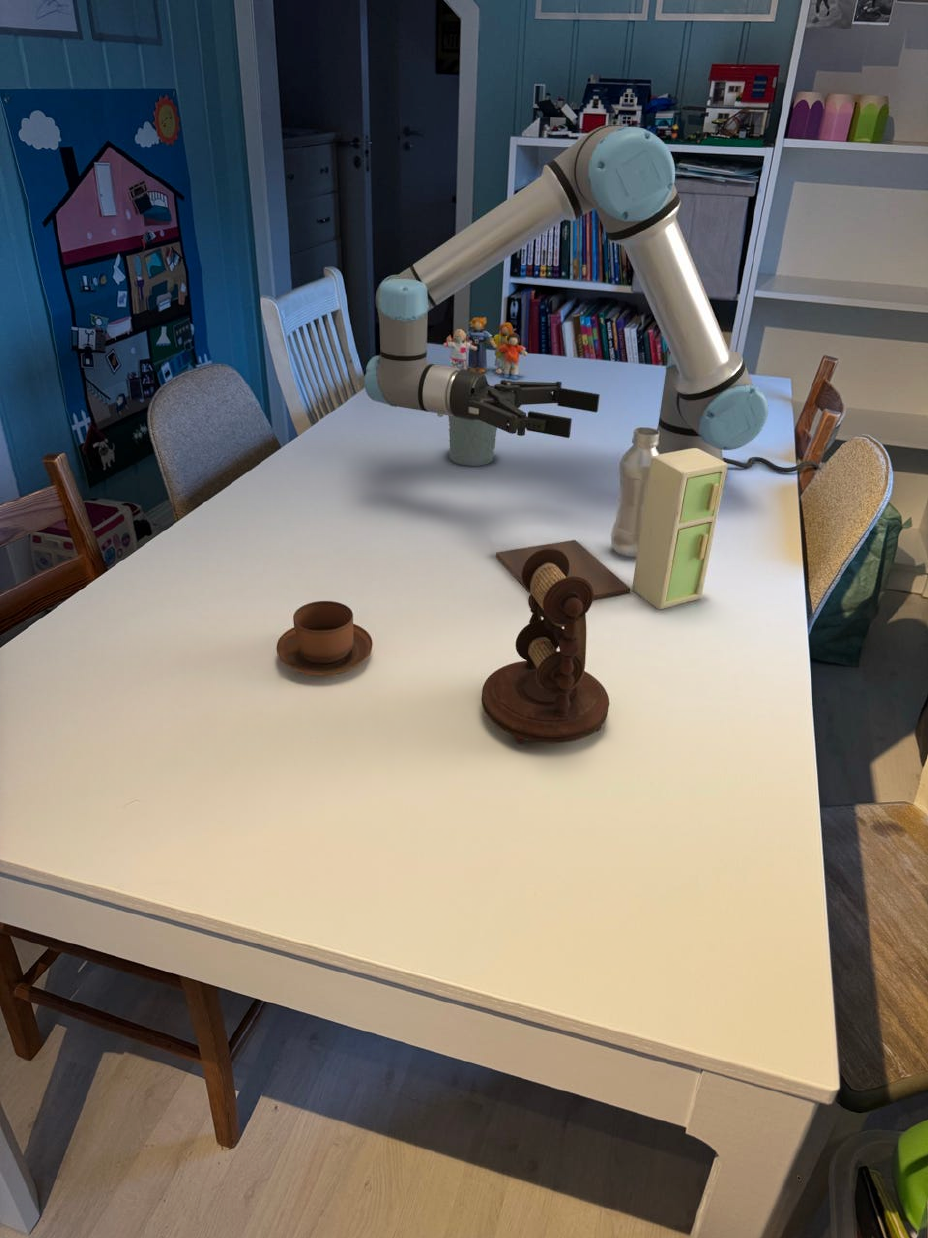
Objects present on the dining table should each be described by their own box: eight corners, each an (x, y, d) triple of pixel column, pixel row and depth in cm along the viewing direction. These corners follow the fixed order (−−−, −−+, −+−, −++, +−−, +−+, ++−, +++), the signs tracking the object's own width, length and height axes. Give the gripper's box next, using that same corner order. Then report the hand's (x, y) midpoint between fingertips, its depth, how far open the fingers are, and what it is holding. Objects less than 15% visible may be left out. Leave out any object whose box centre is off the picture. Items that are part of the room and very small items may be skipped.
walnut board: (574, 544, 143) (575, 539, 142) (630, 593, 129) (630, 588, 129) (495, 556, 138) (495, 552, 137) (544, 609, 124) (545, 604, 124)
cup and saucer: (332, 695, 105) (329, 652, 102) (257, 663, 111) (252, 621, 107) (391, 650, 114) (391, 609, 111) (319, 622, 119) (317, 582, 116)
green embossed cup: (438, 461, 172) (439, 401, 165) (458, 445, 180) (459, 387, 173) (486, 470, 168) (490, 409, 162) (504, 453, 176) (508, 394, 170)
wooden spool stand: (627, 741, 100) (653, 587, 89) (504, 763, 96) (516, 604, 86) (577, 669, 112) (594, 526, 101) (465, 686, 108) (471, 538, 98)
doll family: (442, 373, 224) (443, 319, 217) (448, 363, 232) (450, 311, 225) (525, 380, 221) (529, 326, 214) (529, 369, 229) (532, 317, 222)
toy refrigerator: (661, 613, 125) (685, 473, 114) (630, 590, 130) (650, 454, 119) (705, 601, 128) (733, 464, 117) (672, 579, 133) (696, 446, 122)
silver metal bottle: (650, 564, 137) (670, 440, 127) (607, 558, 138) (623, 436, 128) (651, 546, 143) (670, 426, 132) (609, 541, 144) (625, 422, 134)
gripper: (487, 395, 152) (605, 416, 145) (421, 438, 133) (554, 465, 125) (489, 351, 148) (611, 370, 141) (421, 389, 129) (559, 413, 121)
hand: (584, 415), depth 133 cm, fingers open, 13 cm apart
